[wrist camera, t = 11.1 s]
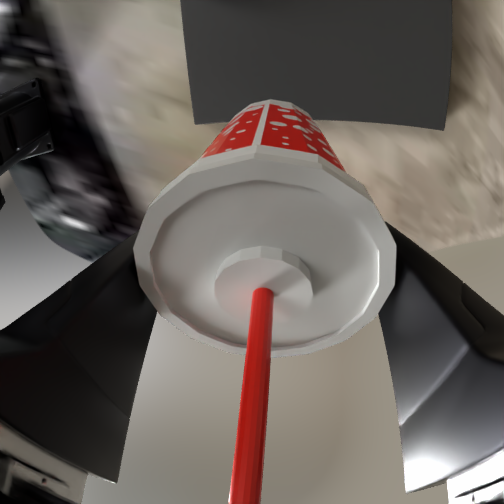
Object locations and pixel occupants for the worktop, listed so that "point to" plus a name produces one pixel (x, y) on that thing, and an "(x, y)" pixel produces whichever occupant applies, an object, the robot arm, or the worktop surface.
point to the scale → (321, 58)
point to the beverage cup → (265, 257)
